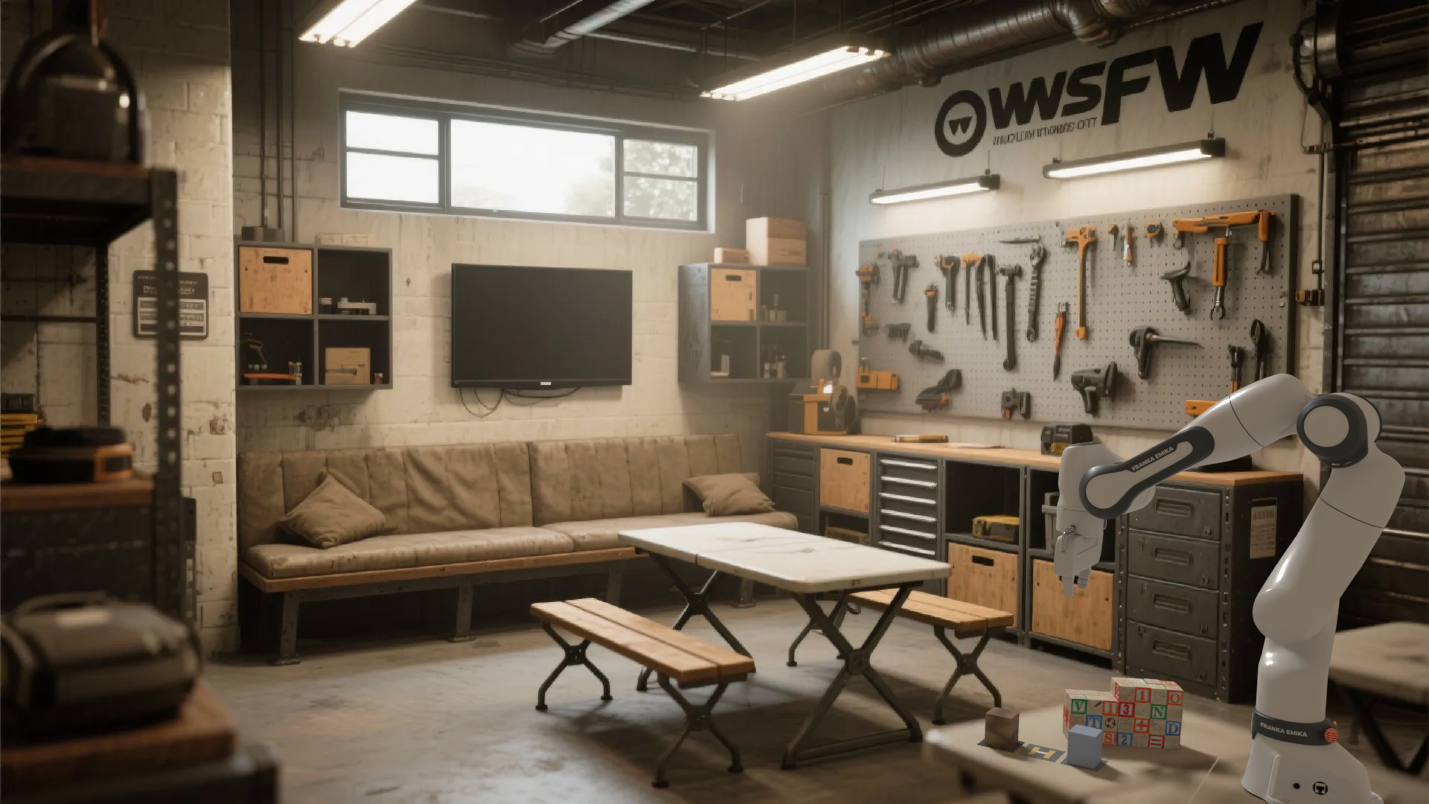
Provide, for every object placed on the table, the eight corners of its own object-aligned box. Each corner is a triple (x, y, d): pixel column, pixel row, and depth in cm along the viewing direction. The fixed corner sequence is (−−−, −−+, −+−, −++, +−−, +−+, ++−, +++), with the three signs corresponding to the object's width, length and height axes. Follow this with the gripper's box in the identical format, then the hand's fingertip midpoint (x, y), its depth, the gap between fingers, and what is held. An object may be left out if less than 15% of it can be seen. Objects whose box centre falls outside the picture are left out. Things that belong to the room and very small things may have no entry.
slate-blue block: (1101, 761, 221) (1102, 729, 220) (1093, 769, 216) (1095, 737, 216) (1074, 755, 223) (1076, 724, 223) (1066, 762, 219) (1068, 731, 219)
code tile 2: (1107, 762, 221) (1108, 760, 221) (1097, 773, 215) (1097, 772, 215) (1070, 754, 225) (1070, 752, 225) (1059, 765, 219) (1059, 763, 219)
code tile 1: (1065, 753, 225) (1065, 751, 225) (1054, 763, 219) (1054, 762, 219) (1029, 745, 229) (1029, 743, 229) (1017, 755, 223) (1017, 753, 223)
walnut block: (1018, 742, 229) (1019, 712, 229) (1009, 749, 225) (1010, 718, 225) (993, 736, 232) (994, 706, 232) (984, 743, 228) (985, 713, 227)
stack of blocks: (1068, 744, 231) (1071, 682, 230) (1061, 733, 237) (1064, 673, 236) (1180, 751, 229) (1184, 689, 228) (1171, 740, 235) (1174, 680, 234)
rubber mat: (1024, 743, 230) (1024, 741, 230) (1012, 754, 224) (1012, 752, 224) (989, 736, 233) (990, 734, 233) (977, 746, 228) (977, 744, 228)
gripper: (1080, 531, 222) (1076, 603, 223) (1109, 518, 239) (1105, 585, 240) (1047, 527, 226) (1043, 598, 227) (1078, 515, 243) (1074, 581, 244)
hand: (1075, 591), depth 234 cm, fingers open, 8 cm apart
